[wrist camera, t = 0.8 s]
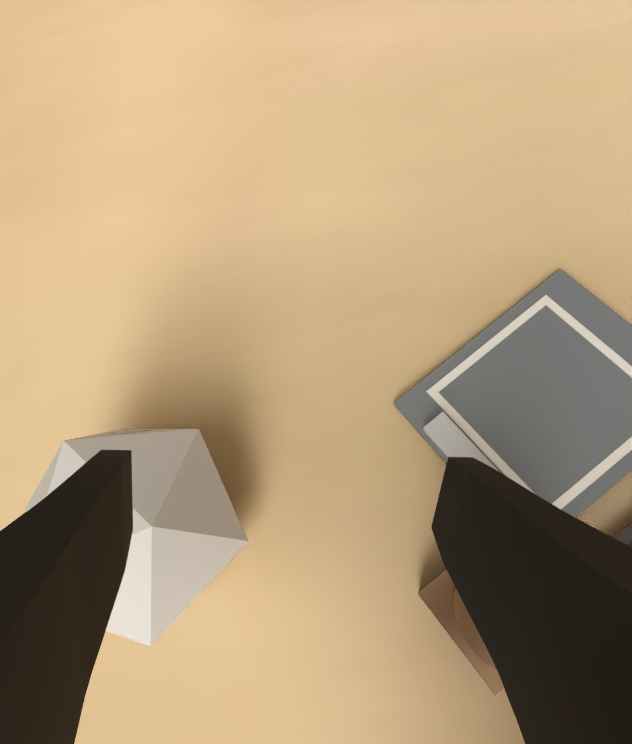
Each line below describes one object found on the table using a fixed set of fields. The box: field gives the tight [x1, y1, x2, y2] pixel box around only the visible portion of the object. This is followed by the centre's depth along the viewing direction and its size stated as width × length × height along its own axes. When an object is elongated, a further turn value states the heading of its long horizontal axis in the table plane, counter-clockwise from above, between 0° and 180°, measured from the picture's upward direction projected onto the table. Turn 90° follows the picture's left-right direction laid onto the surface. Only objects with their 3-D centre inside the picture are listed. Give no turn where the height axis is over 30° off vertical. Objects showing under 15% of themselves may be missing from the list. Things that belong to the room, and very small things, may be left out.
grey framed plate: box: [394, 268, 632, 518], centre depth 24 cm, size 9×11×1 cm
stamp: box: [418, 569, 504, 694], centre depth 19 cm, size 4×4×6 cm
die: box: [25, 429, 248, 646], centre depth 22 cm, size 8×9×10 cm
